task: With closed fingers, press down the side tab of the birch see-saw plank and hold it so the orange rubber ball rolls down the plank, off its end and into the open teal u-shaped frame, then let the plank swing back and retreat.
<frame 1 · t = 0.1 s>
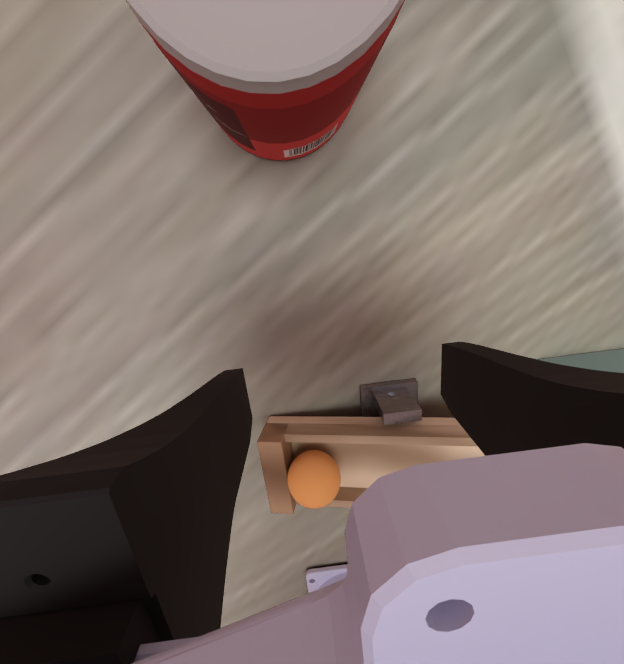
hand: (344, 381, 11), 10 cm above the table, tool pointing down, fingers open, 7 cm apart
lever: (402, 514, 22), point 4 cm above the table, hinge at -13.0°, touching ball
teal u-shaped frame: (588, 408, 25), on the table
fulcrum: (389, 434, 24), on the table
canned food: (281, 81, 17), on the table
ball: (314, 478, 21), point 3 cm above the table, touching lever
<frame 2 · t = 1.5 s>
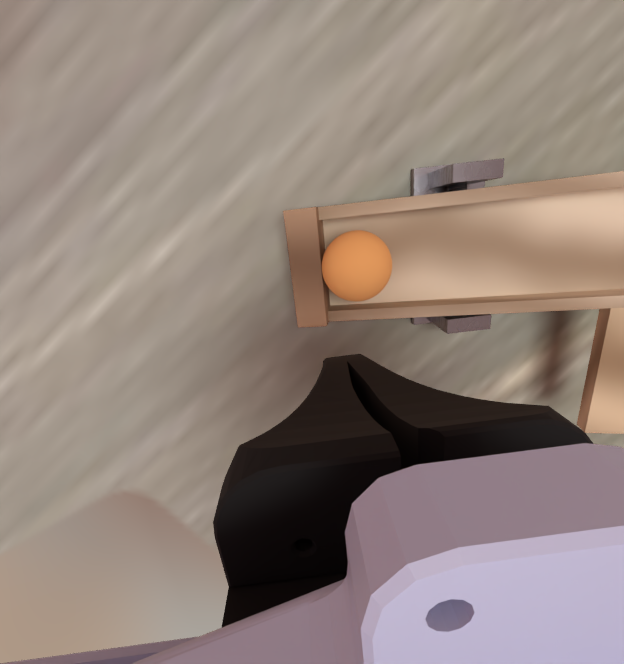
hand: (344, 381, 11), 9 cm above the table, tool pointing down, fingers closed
lever: (466, 329, 17), point 4 cm above the table, hinge at -13.0°, touching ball
fulcrum: (443, 248, 19), on the table
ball: (356, 266, 16), point 3 cm above the table, touching lever
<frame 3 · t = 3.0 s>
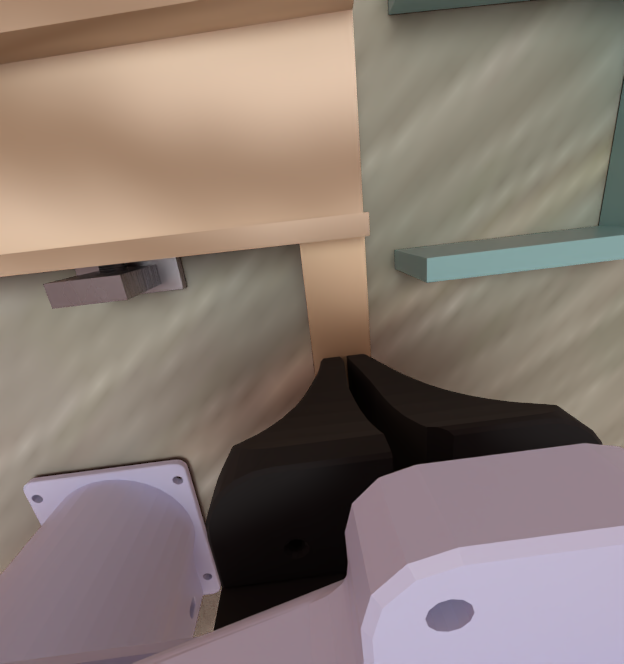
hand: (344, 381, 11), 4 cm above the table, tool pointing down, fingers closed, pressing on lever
lever: (81, 299, 10), point 4 cm above the table, hinge at -5.1°, touching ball, gripper
teal u-shaped frame: (505, 132, 13), on the table
fulcrum: (106, 176, 12), on the table
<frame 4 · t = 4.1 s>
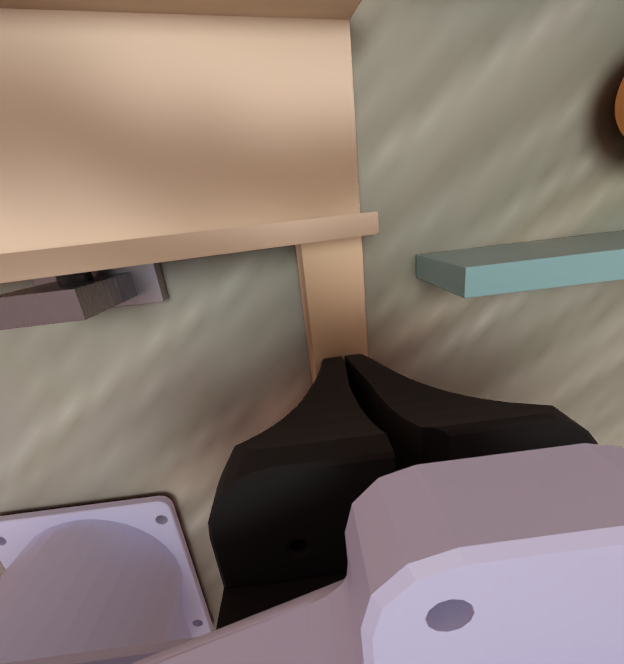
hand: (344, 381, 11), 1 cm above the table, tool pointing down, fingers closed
lever: (38, 318, 8), point 4 cm above the table, hinge at 12.7°, touching gripper
teal u-shaped frame: (554, 111, 10), on the table
fulcrum: (68, 165, 10), on the table
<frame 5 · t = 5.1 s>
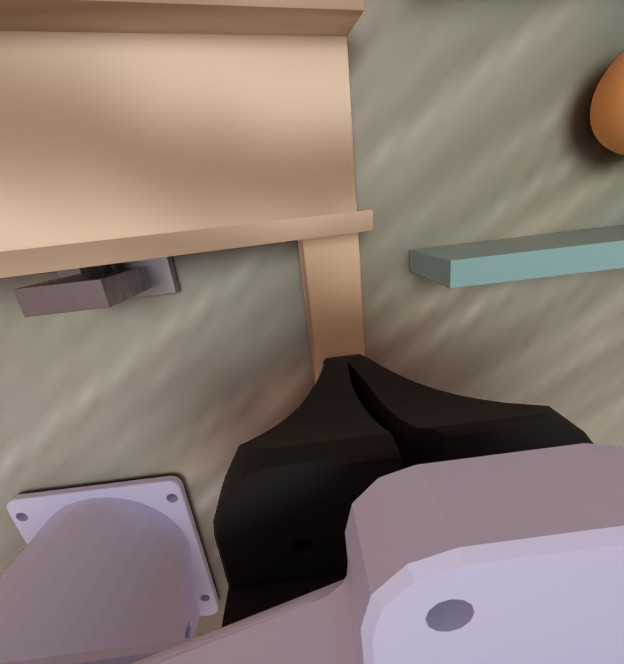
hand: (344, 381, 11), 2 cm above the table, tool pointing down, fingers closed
lever: (68, 306, 9), point 4 cm above the table, hinge at 12.7°
teal u-shaped frame: (536, 117, 11), on the table
fulcrum: (89, 167, 11), on the table
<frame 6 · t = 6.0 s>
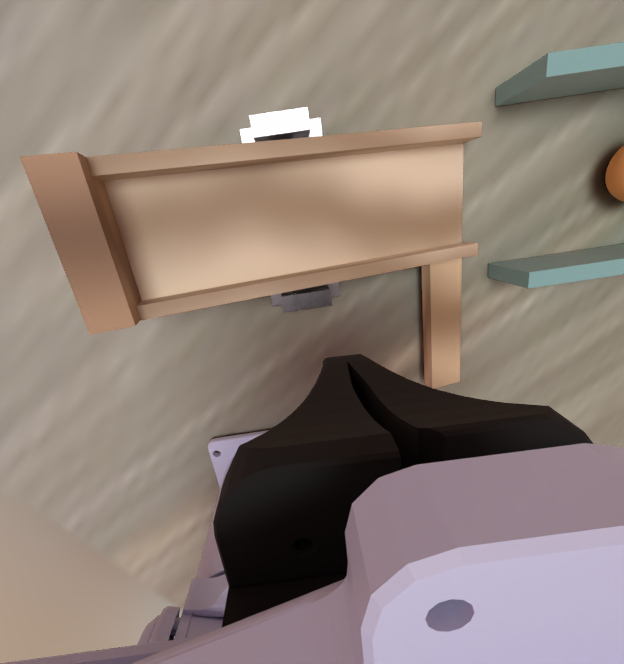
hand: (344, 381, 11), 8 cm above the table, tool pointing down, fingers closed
lever: (311, 305, 16), point 4 cm above the table, hinge at 12.7°
teal u-shaped frame: (571, 179, 18), on the table
fulcrum: (294, 220, 18), on the table
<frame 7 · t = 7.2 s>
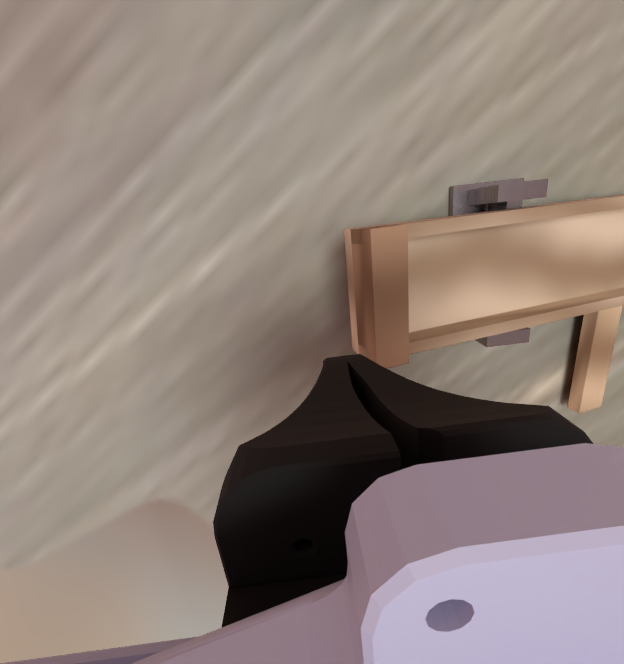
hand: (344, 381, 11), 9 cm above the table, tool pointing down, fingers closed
lever: (513, 341, 18), point 4 cm above the table, hinge at 12.7°
fulcrum: (479, 262, 20), on the table
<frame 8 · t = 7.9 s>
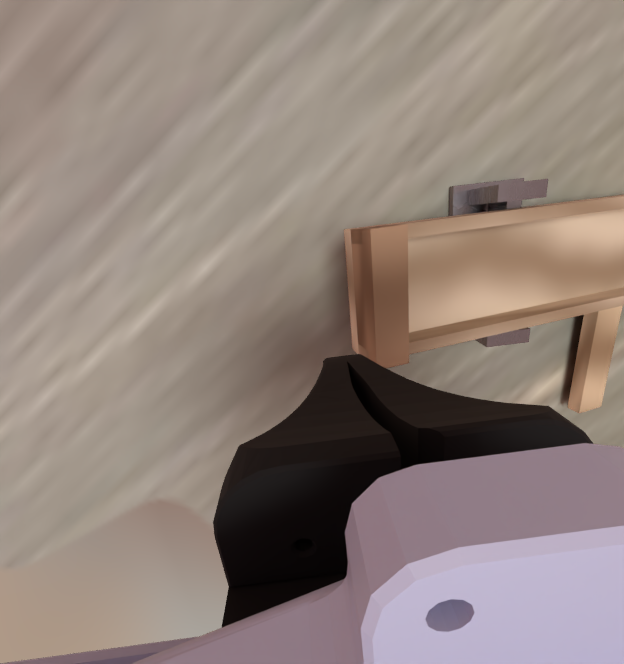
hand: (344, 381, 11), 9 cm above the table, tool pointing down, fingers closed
lever: (513, 341, 18), point 4 cm above the table, hinge at 12.7°
fulcrum: (479, 262, 20), on the table
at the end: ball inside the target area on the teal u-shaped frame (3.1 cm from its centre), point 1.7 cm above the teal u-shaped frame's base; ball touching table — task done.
